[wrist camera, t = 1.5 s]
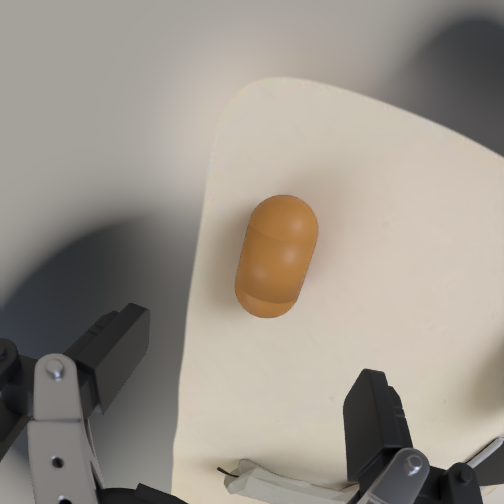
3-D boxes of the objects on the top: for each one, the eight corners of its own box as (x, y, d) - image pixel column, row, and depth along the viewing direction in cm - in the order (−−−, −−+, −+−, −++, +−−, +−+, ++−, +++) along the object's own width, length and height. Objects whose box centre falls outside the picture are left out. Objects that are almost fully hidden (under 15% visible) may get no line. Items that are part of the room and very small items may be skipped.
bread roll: (261, 183, 20) (251, 192, 16) (324, 200, 20) (330, 213, 16) (236, 290, 23) (222, 320, 19) (291, 305, 23) (288, 338, 19)
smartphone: (501, 479, 31) (503, 484, 29) (437, 481, 31) (439, 489, 29) (545, 441, 26) (548, 446, 24) (497, 434, 26) (501, 442, 24)
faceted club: (357, 504, 33) (211, 466, 34) (389, 472, 32) (234, 429, 33) (366, 542, 24) (197, 509, 25) (404, 511, 23) (223, 476, 24)
